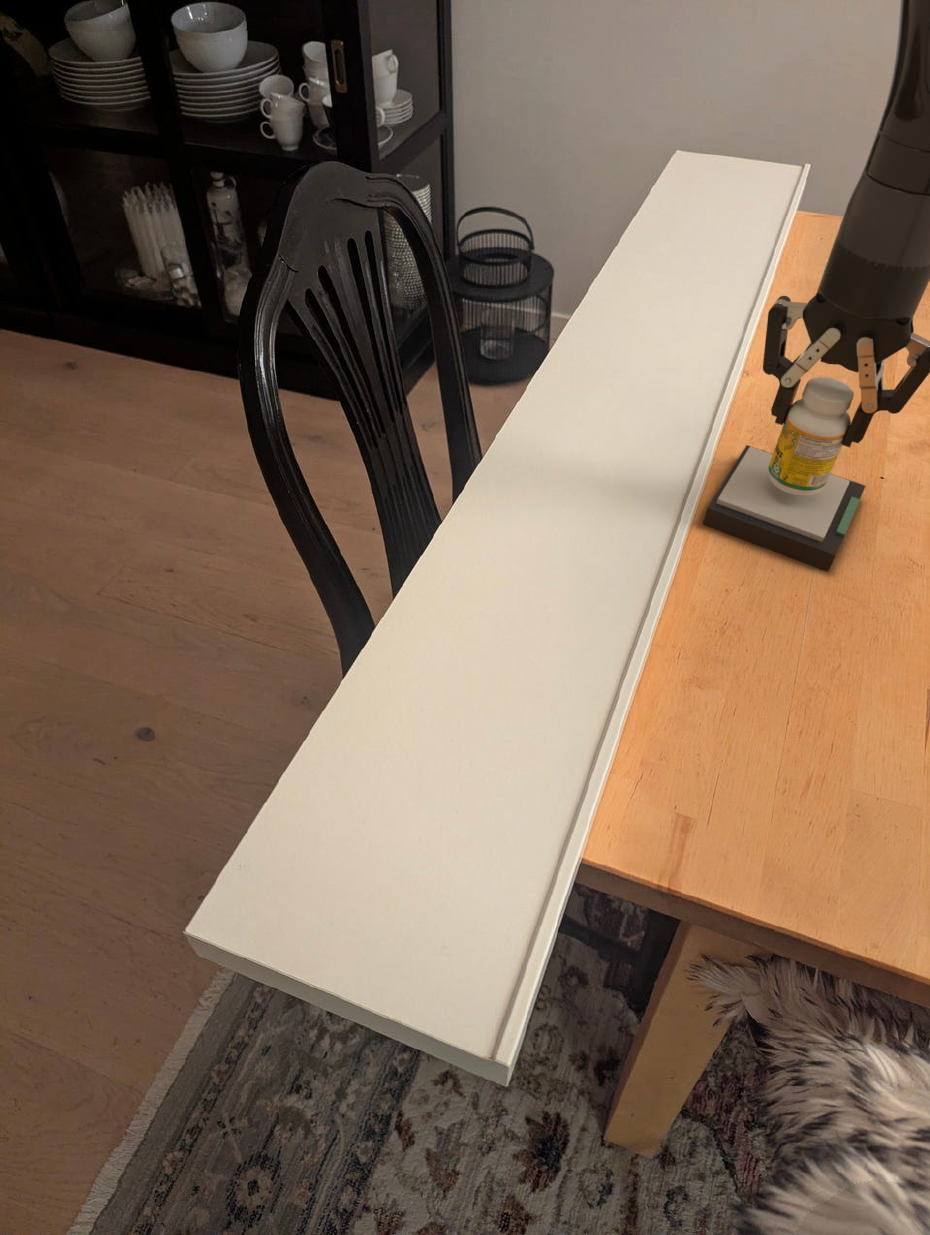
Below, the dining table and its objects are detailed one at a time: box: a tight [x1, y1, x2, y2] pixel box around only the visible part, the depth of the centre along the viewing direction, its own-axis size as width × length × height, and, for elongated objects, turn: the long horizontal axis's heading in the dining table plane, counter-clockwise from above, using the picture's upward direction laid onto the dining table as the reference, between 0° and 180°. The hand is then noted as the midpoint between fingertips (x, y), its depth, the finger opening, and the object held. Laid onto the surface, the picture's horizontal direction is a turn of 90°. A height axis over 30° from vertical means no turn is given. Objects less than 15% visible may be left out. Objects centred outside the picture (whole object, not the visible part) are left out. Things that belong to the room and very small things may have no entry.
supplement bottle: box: [768, 376, 855, 496], centre depth 79 cm, size 5×5×10 cm
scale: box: [702, 444, 866, 572], centre depth 84 cm, size 12×12×3 cm
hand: (814, 430), depth 78 cm, fingers closed on supplement bottle, 5 cm apart
